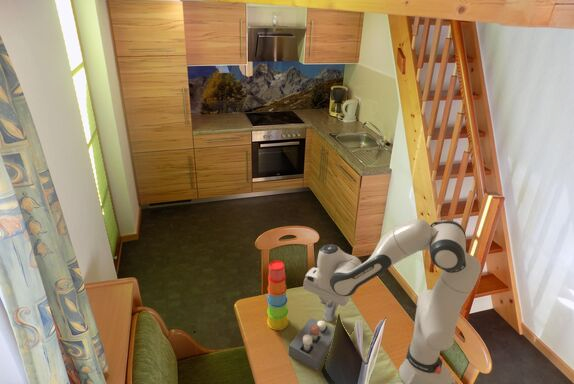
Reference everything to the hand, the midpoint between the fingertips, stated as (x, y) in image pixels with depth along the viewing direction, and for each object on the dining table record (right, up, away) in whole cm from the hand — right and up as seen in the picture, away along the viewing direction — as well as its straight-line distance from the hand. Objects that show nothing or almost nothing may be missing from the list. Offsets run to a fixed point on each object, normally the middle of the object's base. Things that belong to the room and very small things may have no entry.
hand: (324, 303), depth 166 cm
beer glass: (+4, -13, +21) cm, 25 cm away
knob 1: (-8, -19, -2) cm, 20 cm away
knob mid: (-4, -16, +3) cm, 17 cm away
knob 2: (-1, -17, +9) cm, 19 cm away
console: (-5, -21, +5) cm, 22 cm away
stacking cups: (-21, -14, +17) cm, 30 cm away
